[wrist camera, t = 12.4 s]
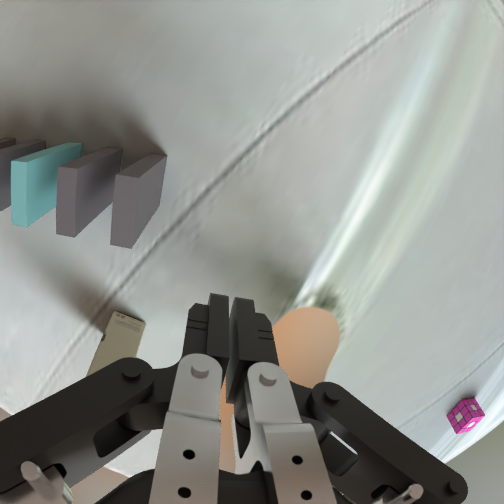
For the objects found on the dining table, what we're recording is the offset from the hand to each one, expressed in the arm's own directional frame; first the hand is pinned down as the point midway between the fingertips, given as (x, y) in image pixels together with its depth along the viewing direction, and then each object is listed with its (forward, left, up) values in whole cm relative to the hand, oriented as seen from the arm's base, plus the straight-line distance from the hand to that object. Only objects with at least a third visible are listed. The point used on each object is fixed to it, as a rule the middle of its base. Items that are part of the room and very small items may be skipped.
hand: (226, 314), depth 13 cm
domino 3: (-12, 0, -19) cm, 22 cm away
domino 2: (-16, 0, -19) cm, 25 cm away
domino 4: (-7, 0, -19) cm, 20 cm away
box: (-9, -19, -19) cm, 28 cm away
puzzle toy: (+59, -34, -19) cm, 71 cm away
